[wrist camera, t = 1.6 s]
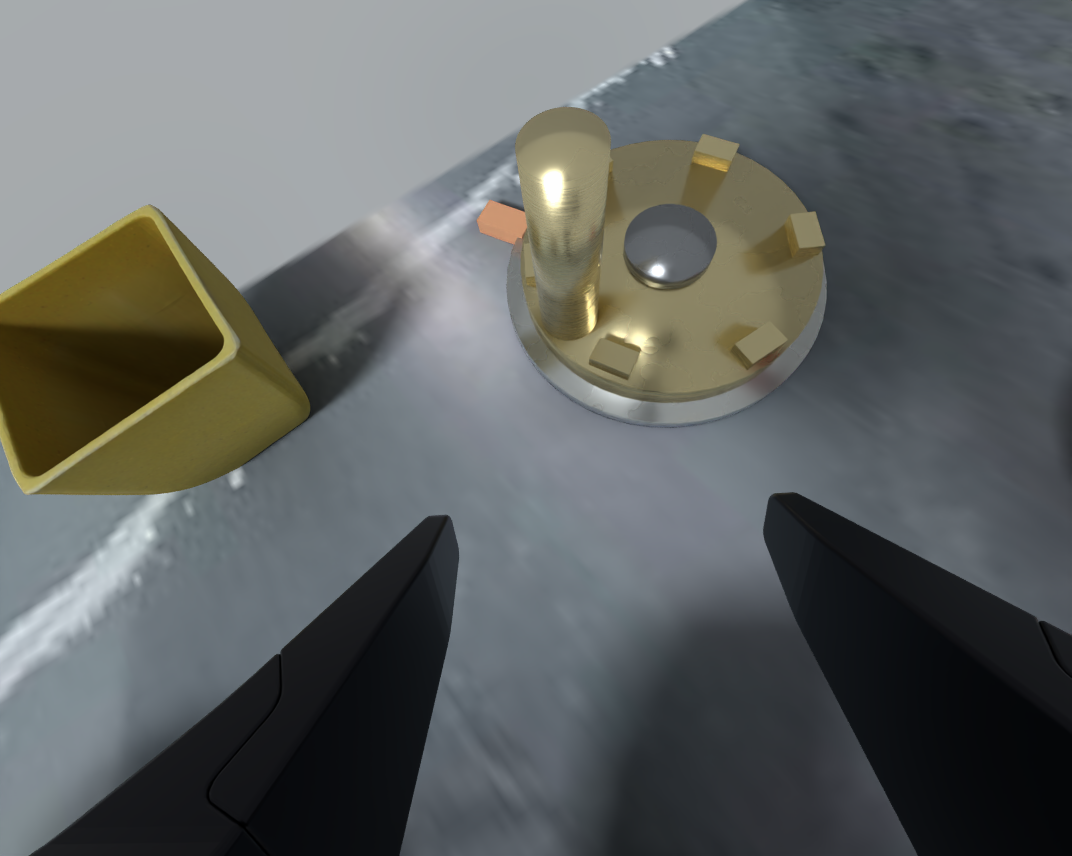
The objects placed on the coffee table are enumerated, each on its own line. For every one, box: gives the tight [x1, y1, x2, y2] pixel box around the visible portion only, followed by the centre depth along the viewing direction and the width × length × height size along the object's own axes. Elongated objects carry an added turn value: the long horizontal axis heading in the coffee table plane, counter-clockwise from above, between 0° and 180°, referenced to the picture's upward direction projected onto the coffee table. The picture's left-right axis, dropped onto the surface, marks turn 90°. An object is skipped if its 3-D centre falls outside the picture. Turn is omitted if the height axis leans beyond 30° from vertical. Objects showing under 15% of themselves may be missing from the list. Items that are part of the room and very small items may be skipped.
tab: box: [477, 200, 527, 244], centre depth 27 cm, size 3×2×1 cm, turn 63°
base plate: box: [507, 204, 827, 428], centre depth 23 cm, size 17×17×4 cm
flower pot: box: [0, 205, 310, 495], centre depth 21 cm, size 9×9×9 cm
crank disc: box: [515, 107, 825, 403], centre depth 19 cm, size 15×15×11 cm
